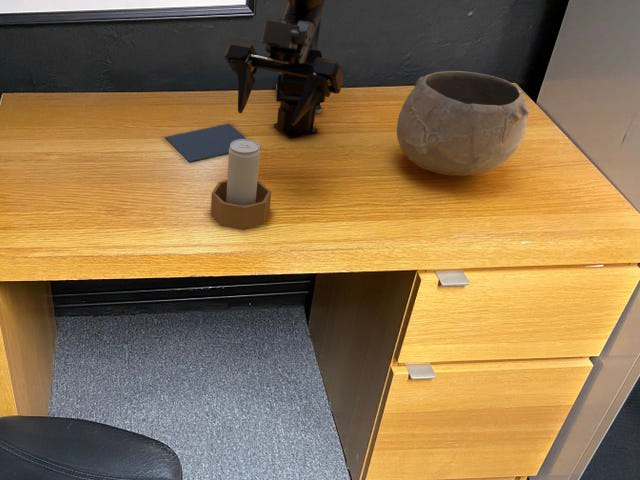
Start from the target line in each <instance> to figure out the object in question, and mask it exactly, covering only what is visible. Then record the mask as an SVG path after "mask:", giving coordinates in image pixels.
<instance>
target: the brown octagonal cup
mask: <svg viewBox="0 0 640 480" xmlns="http://www.w3.org/2000/svg"><path fill="white" fill-rule="evenodd" d="M226 197H227V179H225V180H222V181H218V182H217V183H216V186H215V187H214V188H213V190H212V191H211V199H210V200H211V202H210V215H211V216H212V217H213V218H214V219H215V220H216V221H217V222H218V223H219V224H220V225H221V226H223V227H228V228H229V227H230V228H234V229H238V230H246V229H250V228H254V227H258V226H262V225H264V224H265V222H266V220H267V218H268V216H269V214H270V211H271V210H270V209H271V199H272V191H271V190H270V189H269V188H268V187H267V186H266V185H265V184H264V183H263V182H262V181H260V180H257V192H256V203H255V204H251V205H247V206H242V205H236V204H231V203H226Z"/></svg>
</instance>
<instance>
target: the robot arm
mask: <svg viewBox="0 0 640 480" xmlns="http://www.w3.org/2000/svg"><path fill="white" fill-rule="evenodd" d="M287 1H288V3H287V5H286V8H285V11H284V13H283V17H282V18H279V19H278V21H274V20H269V19H266V20H265V22H264V27H263V31H262V35H261V40H260V44H265V48H264V49H265V51H266V53H269V56H268V55H267V56H266V55H261V54H258V53H257V50H256V49H255V47H254V45H253V44H248V43H243V42H238V41H233V42H232V43H230V44H229V45H228V46H227V48H226V51H225V53H224V58H225V60H226V62H227V63H228V65H229V67H230V69H231V71H232V72H233V73H235V75H236V77H237V83H238V84H237V87H238V88H237V112H238V113H239V114H243V112H244V110H245V108H246V106H247V103H248V102H249V99H250V95H251V94H252V93H251V92H252V90H253V87H254V85H255V82H256V78H255V76H254V75H255V74H257V72H258V69H261V70H265V71H271V72H275V73H278V74H277V75H278V76H277V82H276V84H277V90H276V101H275V102H277V103H279V102H280V105H279V107H278V111H277V120H276V121H277V122H275V123H274V124H273V127H274V128H276V129H277V130H278V131H279V132H281V133H282V134H283V135H284V136H286V137H287V138H289V139H296V138H300V137H305V136H308V135H314V134H317V133H318V130H319V129H317V128H316V127H315V125H314V124H315V118H316V113H315V111H316V105H321V104H322V103H325V102H326V101H325V100H326V98H329V97H330V96H331V94H336V95H337V94H340V92H341V90H342V87H343V84H344V79H345V77H344V73H343V69H342V65H341V63H340V61H339V60H336V59H330V58H324V57H323V55H322V51H321V49H320V50H319V48H318V43H319V37H320V32H321V25H322V20H323V14H324V11H325V9H326V5H327V3H328V2H327V0H287Z"/></svg>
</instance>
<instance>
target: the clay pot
mask: <svg viewBox="0 0 640 480" xmlns="http://www.w3.org/2000/svg"><path fill="white" fill-rule="evenodd" d="M413 86H414V88H413V89H412V90H411V91H410V93H409V94H408V96H407V97H406V98H405V99H406V100H405V101H404V103H403V105H402V107H401V109H400V112H399V114H398V117H397V124H396V138H397V142H398V145H399V147H400V150H401V151H402V152H403V153H404V155H405V156H406V158H407V159H408V160H409V161H411V162H413V163H414V164H415V165H416V166H418V167H420V168H422V169H424V170H426V171H429V172H431V173H434V174H440V175H445V176H475V175H481V174H482V175H483V174H485V173H488V172H491V171H493V170H495V169H497V168H499V167H500V166H502V165H503V164H505V163H506V162H508V161H509V160H510V159H511V158H512V157H513V156H514V155H515V154H516V153H517V151H518V150H519V147H520V146H521V144H522V143H523V142H524V141H523V140H524V138H525V135H526V132H527V129H528V121H529V117H528V116H529V115H530V113H531V108H530V106H529V104H528V103H527V102H526V98H525V95H524V93H523V92H522V91H521V89H520V87H518V85H516V84H515V83H513V82H510V81H508V80H506V79H504V78H500V77H498V76H494V75H490V74H485V73H480V72H479V73H478V72H471V71H463V70H444V71H443V70H442V71H436V72H433V73H429V74H426V75H425V76H424V75H423V76H420V77H419V78H418V79H417V81H415V82H414V84H413Z"/></svg>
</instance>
